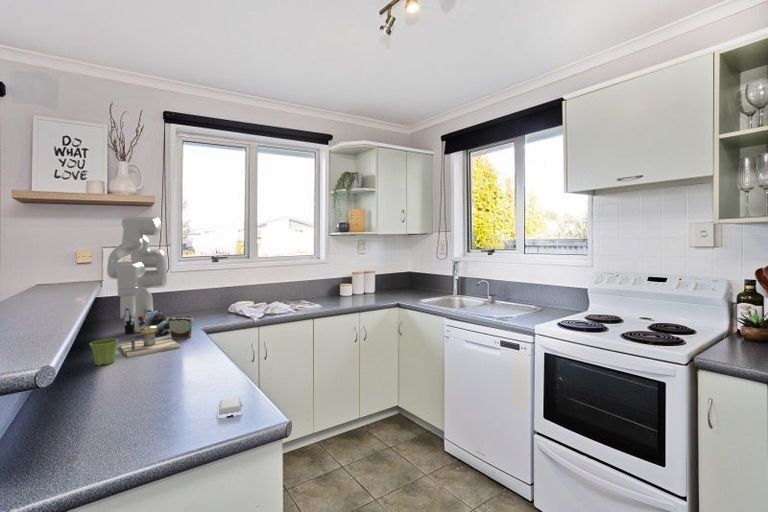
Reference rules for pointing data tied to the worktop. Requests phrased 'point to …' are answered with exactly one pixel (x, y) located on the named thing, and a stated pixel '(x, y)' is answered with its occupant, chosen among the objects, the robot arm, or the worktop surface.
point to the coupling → (146, 329)
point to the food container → (180, 326)
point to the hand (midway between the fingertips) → (130, 332)
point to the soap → (229, 405)
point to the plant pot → (104, 350)
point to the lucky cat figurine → (155, 321)
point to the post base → (149, 349)
